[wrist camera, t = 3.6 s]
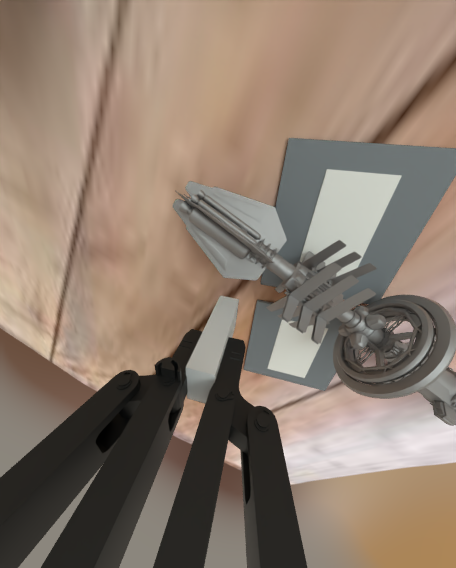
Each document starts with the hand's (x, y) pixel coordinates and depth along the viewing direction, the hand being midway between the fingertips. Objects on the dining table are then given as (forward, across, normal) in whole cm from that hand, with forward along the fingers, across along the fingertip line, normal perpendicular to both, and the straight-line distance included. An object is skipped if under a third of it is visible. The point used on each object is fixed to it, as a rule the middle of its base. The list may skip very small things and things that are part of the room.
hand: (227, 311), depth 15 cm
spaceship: (+4, +11, 0) cm, 12 cm away
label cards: (+4, +7, 0) cm, 8 cm away
